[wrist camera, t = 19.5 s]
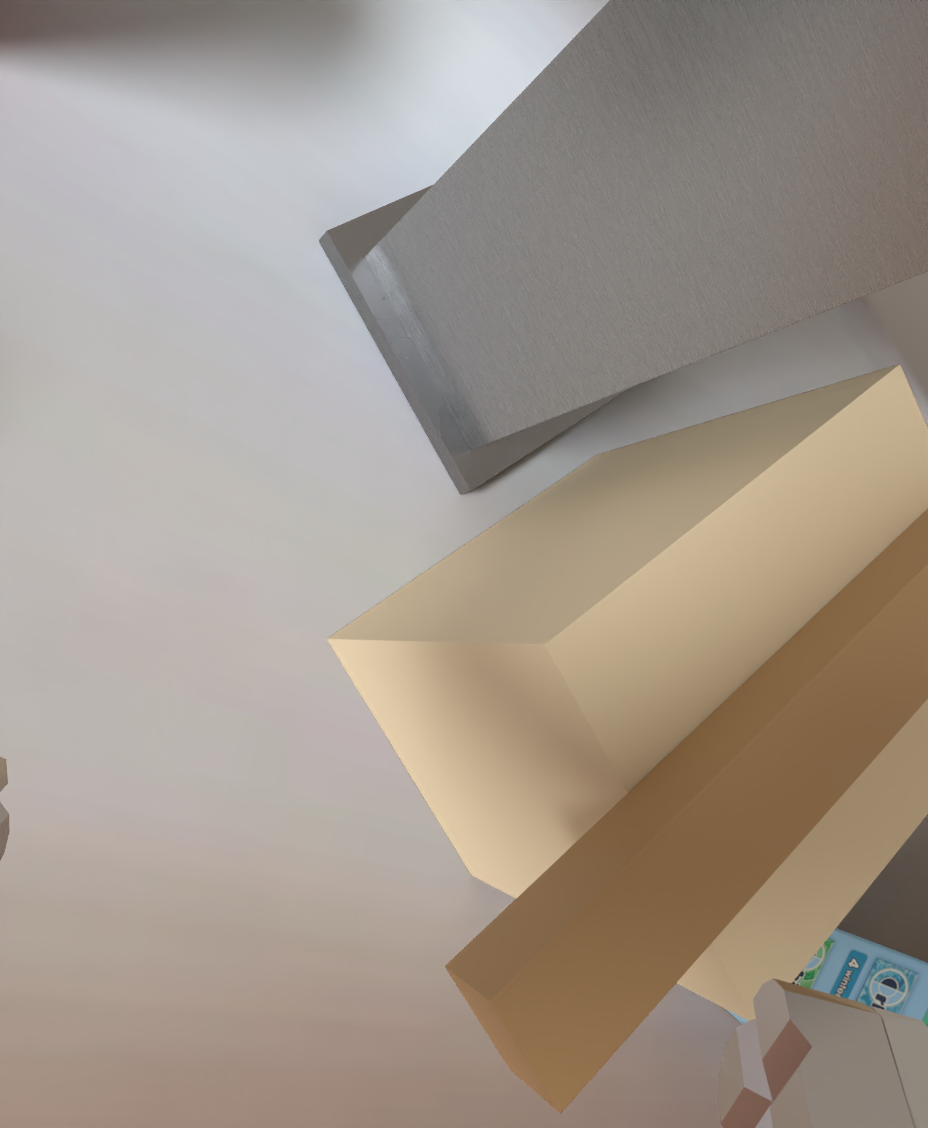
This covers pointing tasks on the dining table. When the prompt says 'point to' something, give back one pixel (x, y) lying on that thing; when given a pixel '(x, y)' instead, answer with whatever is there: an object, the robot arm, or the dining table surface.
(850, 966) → the gum box
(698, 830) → the brown wooden bar
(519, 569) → the carton
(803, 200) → the dispenser stand
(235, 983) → the dining table surface
